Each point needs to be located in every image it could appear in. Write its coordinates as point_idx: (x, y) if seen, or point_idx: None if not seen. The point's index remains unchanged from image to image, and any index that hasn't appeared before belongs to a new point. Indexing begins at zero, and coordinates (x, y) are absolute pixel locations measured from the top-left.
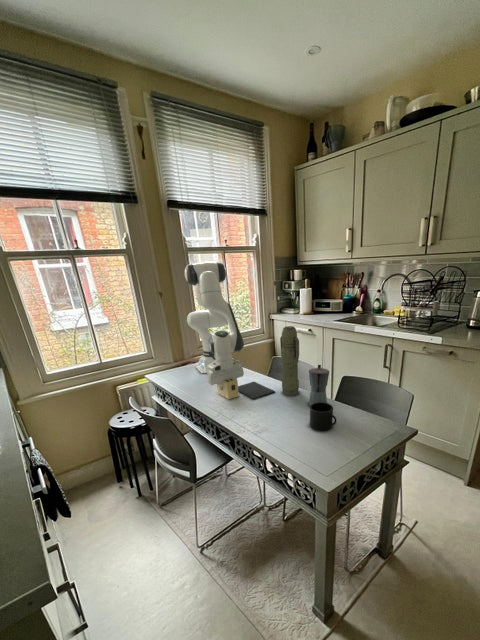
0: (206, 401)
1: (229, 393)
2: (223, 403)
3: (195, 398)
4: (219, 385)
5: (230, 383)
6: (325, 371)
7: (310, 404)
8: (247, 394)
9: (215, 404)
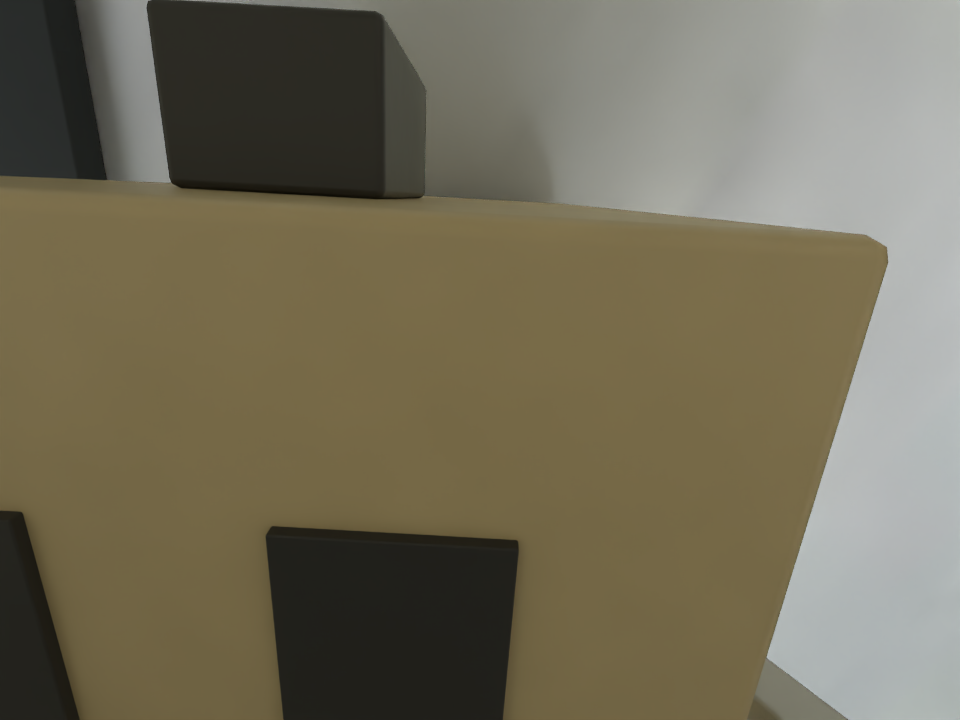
0: (898, 488)
1: (536, 203)
2: (767, 126)
3: (902, 705)
4: (768, 694)
5: (397, 202)
6: None
7: None
8: (28, 58)
9: (916, 222)
